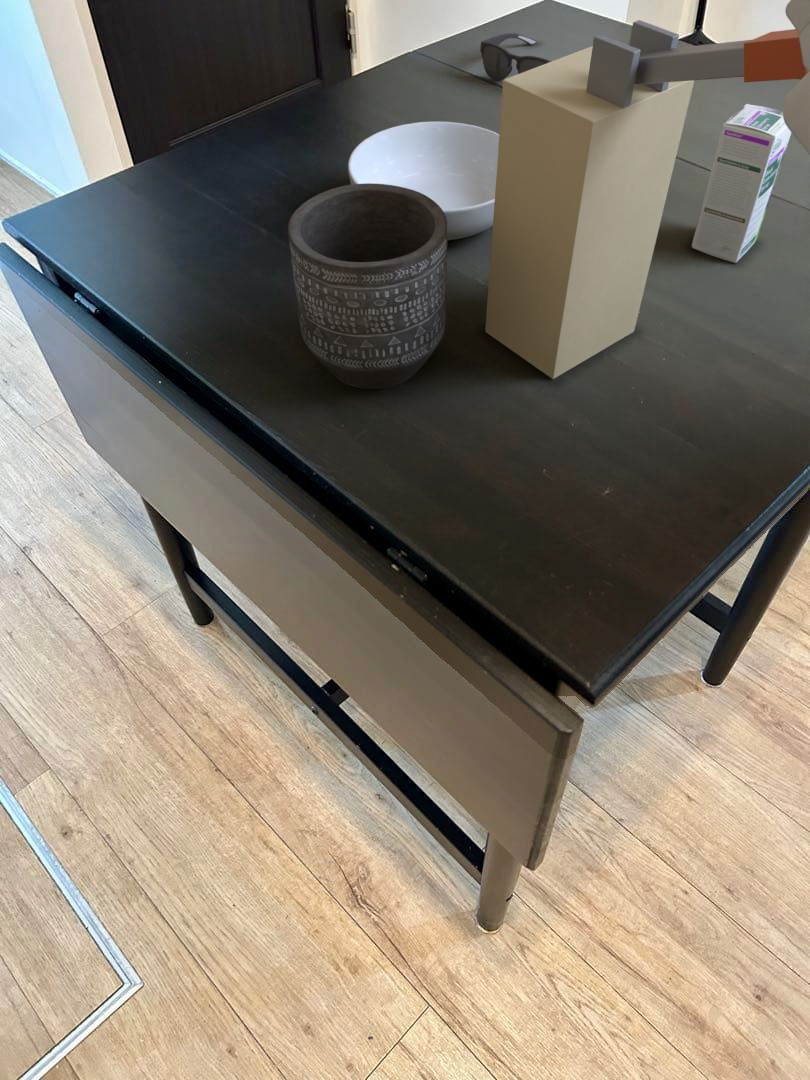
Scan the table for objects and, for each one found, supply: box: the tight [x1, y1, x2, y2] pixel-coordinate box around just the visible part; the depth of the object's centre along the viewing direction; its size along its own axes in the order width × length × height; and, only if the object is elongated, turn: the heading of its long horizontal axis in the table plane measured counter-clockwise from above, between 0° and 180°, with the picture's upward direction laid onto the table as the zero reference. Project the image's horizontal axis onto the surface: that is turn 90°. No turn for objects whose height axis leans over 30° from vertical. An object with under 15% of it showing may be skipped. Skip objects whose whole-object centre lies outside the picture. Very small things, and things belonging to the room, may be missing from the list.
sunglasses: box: [479, 32, 553, 83], centre depth 127 cm, size 16×17×5 cm
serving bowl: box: [347, 121, 499, 241], centre depth 99 cm, size 21×21×7 cm
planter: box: [287, 183, 448, 390], centre depth 79 cm, size 14×14×15 cm
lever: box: [634, 28, 808, 85], centre depth 59 cm, size 14×3×2 cm, turn 39°
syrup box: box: [691, 103, 792, 264], centre depth 91 cm, size 6×6×14 cm
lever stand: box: [484, 19, 695, 380], centre depth 76 cm, size 10×12×29 cm
